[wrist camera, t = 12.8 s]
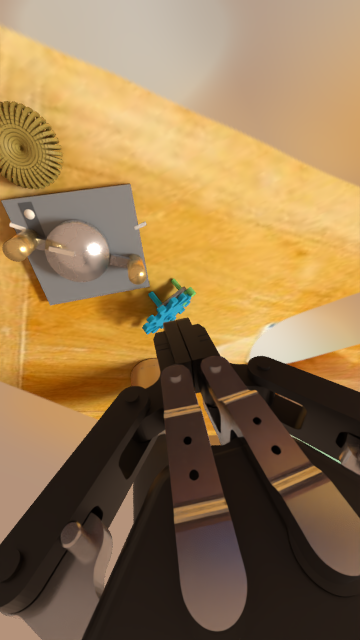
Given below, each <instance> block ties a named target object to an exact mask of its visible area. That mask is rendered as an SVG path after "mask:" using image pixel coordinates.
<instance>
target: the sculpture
mask: <svg viewBox="0 0 360 640" xmlns="http://www.w3.org/2000/svg"><path fill="white" fill-rule="evenodd" d="M15 107H16V110H15ZM2 108H3V109H4V112H3V109H2ZM9 108H10V111H9ZM22 109H23V113H22ZM29 112H30V115H29V114H28V113H29ZM28 116H29V117H28ZM15 117H16V118H15ZM20 117H21V118H20ZM35 117H36V120H35ZM25 119H26V122H25ZM10 120H11V121H10ZM34 120H35V121H34ZM30 122H31V125H30ZM41 122H42V124H41V126H40V123H41ZM7 128H8V129H7ZM34 128H35V130H34ZM44 129H46V131H45V132H44V133H43V130H44ZM37 133H38V134H37ZM36 134H37V135H36ZM48 135H49V136H48ZM55 135H56V134H55V132H54V131H53V130H51V126H50V125H49V124H48V123H46V120H45V119H44V118H43V117H40V115H39V114H38V113H37V112H35V111H34V112H33V110H32V109H31V108H29V107H26V106H25V105H23V104H18V103H16V102H11V103H10V102H4V103H2V102H0V154H2V155H0V160H1V162H0V173H1V175H2V176H3V177H4V178H7V179H8V180H9V181H10V182H12V183H13V182H14V184H15V185H18V186H20V185H21V187H23V188H29V189H33V188H34V189H39V188H44V187H45V186H49V185H50V183H53V182H54V179H55V180H56V179H57V178H58V176H57V175H56V174H59V175H60V171H59V170H58V169H57V168H59V169H62V166H61V165H60V164H58V163H56V162H55V161H57V162H61V163H62V162H63V160H62V159H59V158H56V157H53V156H50V155H57V156H63V155H62V153H60V152H55V151H50V150H60V149H61V146H59V145H55V144H57V143H59V140H58V138H54V136H55ZM46 136H48V137H47V138H45V137H46ZM44 138H45V139H44ZM47 142H50V143H47ZM44 143H45V144H44ZM46 143H47V144H46ZM42 144H43V145H42ZM43 149H44V150H43ZM47 154H50V155H47ZM4 164H5V165H4ZM46 164H48V165H49V166H50V167H49V166H48V165H46ZM3 165H4V166H3ZM2 166H3V168H2ZM51 167H52V168H51ZM30 168H31V169H30ZM47 169H48V170H49V171H50V172H51V173H52V174H51V173H50V172H48V170H47ZM7 170H8V172H7V174H6V171H7ZM21 174H22V175H21ZM34 174H35V175H34ZM46 174H47V175H48V176H49V178H48V177H47V175H46ZM12 175H13V178H12ZM26 175H27V178H26ZM30 175H31V176H30ZM17 179H19V180H18V182H17ZM44 179H45V180H46V182H45V181H44ZM39 180H40V181H41V183H40V182H39ZM23 182H24V183H23ZM29 182H30V184H29ZM35 183H36V185H35Z"/></svg>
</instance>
